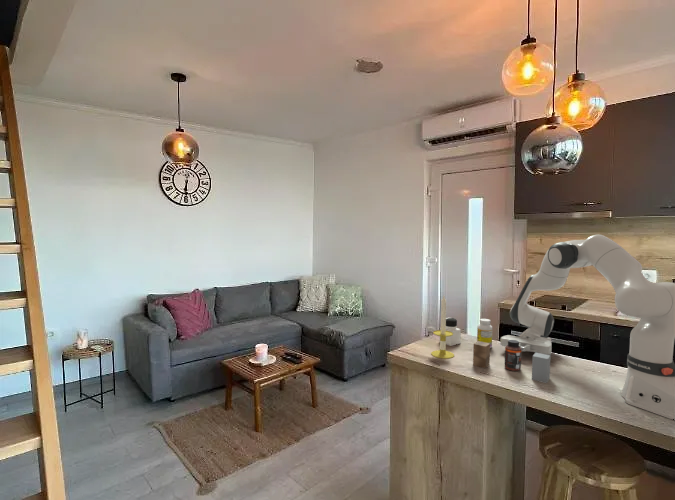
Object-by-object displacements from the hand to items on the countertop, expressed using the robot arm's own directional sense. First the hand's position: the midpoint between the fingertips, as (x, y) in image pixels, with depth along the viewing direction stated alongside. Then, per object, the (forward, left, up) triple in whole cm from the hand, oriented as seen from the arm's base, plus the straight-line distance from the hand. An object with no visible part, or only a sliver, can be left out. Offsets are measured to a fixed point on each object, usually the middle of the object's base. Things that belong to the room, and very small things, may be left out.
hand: (521, 349), depth 163 cm
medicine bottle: (+30, +14, -5) cm, 34 cm away
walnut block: (+1, +19, -5) cm, 20 cm away
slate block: (-18, +8, -5) cm, 20 cm away
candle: (+17, +27, -5) cm, 32 cm away
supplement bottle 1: (+20, +2, -5) cm, 21 cm away
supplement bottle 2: (-6, +10, -5) cm, 13 cm away
